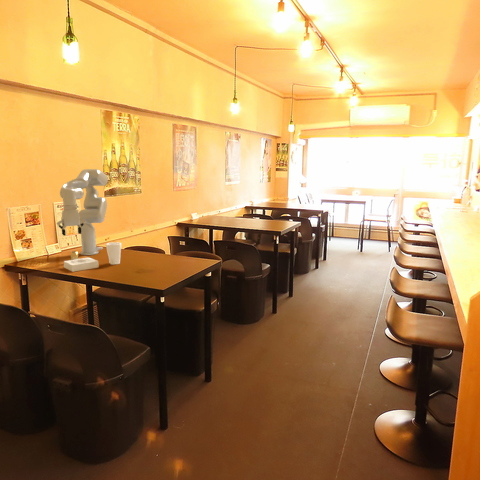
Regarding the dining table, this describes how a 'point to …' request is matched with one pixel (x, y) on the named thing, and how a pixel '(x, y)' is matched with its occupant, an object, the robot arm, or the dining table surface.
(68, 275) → the dining table surface
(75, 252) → the brass sleeve
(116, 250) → the foam cup
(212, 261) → the dining table surface
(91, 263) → the plate
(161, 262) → the dining table surface
